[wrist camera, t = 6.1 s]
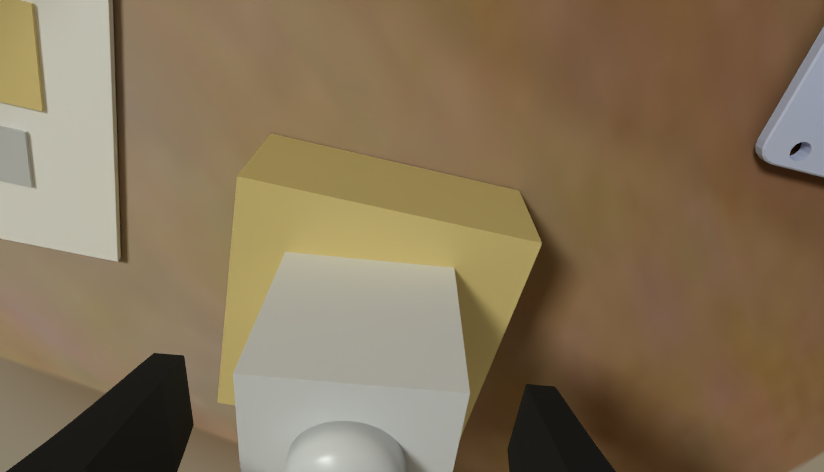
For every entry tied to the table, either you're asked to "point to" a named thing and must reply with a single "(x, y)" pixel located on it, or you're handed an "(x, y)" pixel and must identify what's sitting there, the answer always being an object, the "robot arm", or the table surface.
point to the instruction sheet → (59, 126)
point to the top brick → (353, 369)
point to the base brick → (376, 237)
